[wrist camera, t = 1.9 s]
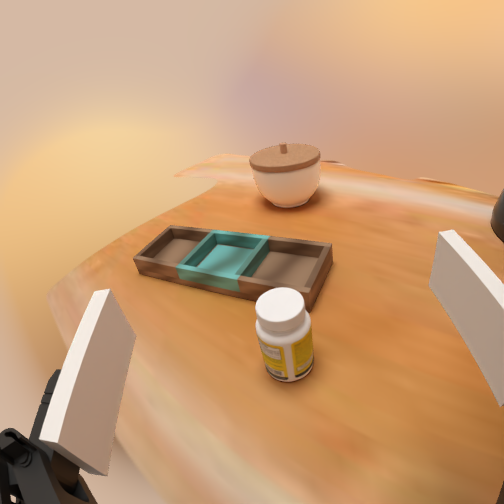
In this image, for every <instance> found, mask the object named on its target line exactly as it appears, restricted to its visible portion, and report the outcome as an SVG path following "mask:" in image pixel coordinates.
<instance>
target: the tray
mask: <svg viewBox="0 0 504 504" xmlns="http://www.w3.org/2000/svg"><path fill="white" fill-rule="evenodd" d="M133 260H134V262H135V264H136V267H137V269H138V271H139V273H140V274H143V275H147V276H151V277H154V278H158V279H162V280H166V281H170V282H174V283H179V284H183V285H187V286H191V287H195V288H199V289H204V290H208V291H212V292H216V293H221V294H225V295H230V296H234V297H238V298H243V299H247V300H252V301H257V300H258V298H259V297H260V296H261V295H262V294H264V293H265V292H267V291H269V290H271V289H275V288H282V287H284V288H291V289H294V290H296V291H298V292H299V293H300V294H301V295H302V297H303V299H304V303H305V310H306V311H307V312H310V311H311V309H312V307H313V305H314V303H315V301H316V298H317V296H318V294H319V292H320V290H321V287H322V285H323V283H324V281H325V278H326V276H327V274H328V272H329V269H330V267H331V265H332V262H333V257H332V243H324V242H316V241H308V240H299V239H291V238H282V237H274V236H265V235H256V234H248V233H239V232H230V231H221V230H211V229H202V228H193V227H183V226H173V225H170V226H169V227H168V228H167V229H165V230H164V231H163V232H162V233H161V234H160V235H158V236H157V237H156V238H155V239H154V240H153V241H152V242H150V243H149V244H148V245H147V246H146V247H145V248H144V249H142V250H141V251H140V252H139V253H138V254H137V255H136V256H135V257H134V258H133Z"/></svg>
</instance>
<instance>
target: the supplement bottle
mask: <svg viewBox="0 0 504 504" xmlns="http://www.w3.org/2000/svg"><path fill="white" fill-rule="evenodd" d="M255 309H256V315H257V321H256V333H257V337H258V340H259V344H260V348H261V351H262V355H263V359H264V362H265V366H266V369H267V371H268V373H269V374H270V375H271V376H272V377H273V378H275V379H277V380H279V381H284V382H291V381H295V380H298V379H301V378H303V377H304V376H306V375H307V374H308V373H309V372H310V370H311V368H312V366H313V361H314V357H313V343H312V329H311V320H310V316H309V314H308V312H307V311H306V310H305V303H304V299H303V297H302V295H301V294H300V293H299V292H298V291H296V290H294V289H291V288H284V287H282V288H275V289H271V290H269V291H267V292H265V293H264V294H262V295H261V296H260V297H259V298H258V300H257V302H256V307H255Z"/></svg>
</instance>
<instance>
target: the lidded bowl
mask: <svg viewBox="0 0 504 504" xmlns="http://www.w3.org/2000/svg"><path fill="white" fill-rule="evenodd" d="M249 161H250V166H251V168H252V173H253V177H254V180H255V183H256V185H257V188H258V190H259V191H260V193H261V194H262V195H263V196H264V197H265V198H266V199H267V200H269V201H271V202H272V204H273V205H275V206H277V207H282V208H292V207H297V206H301V205H303V204H305V203H306V202H308V200H309V198H310V197H311V196H312V195H313V193H314V192H315V191H316V189H317V187H318V184H319V180H320V151H319V150H318V148H316V147H314V146H311V145H306V144H286V143H280V144H279V145H278V146H273V147H269V148H265V149H263V150H260V151H258V152H256V153H254V154H253V155H252V156H251V157H250V159H249Z"/></svg>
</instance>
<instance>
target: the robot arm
mask: <svg viewBox="0 0 504 504" xmlns="http://www.w3.org/2000/svg"><path fill="white" fill-rule="evenodd" d="M491 225H492V228H493V230H494V232H495V233H496V234H497V235H498V237H499V238H500V239H501V240H502V241H504V189H503V191H502V193H501V195H500V197H499V199H498V201H497V202H496V204H495V206H494V209H493V213H492V218H491ZM429 287H430V288H431V290H432V291H433V293H434V294H435V296H436V297H437V299H438V300H439V302H440V303H441V305H442V306H443V308H444V309H445V311H446V312H447V314H448V316H449V317H450V319H451V320H452V322H453V323H454V325H455V327H456V328H457V330H458V332H459V333H460V335H461V337H462V338H463V340H464V342H465V343H466V345H467V347H468V348H469V350H470V352H471V353H472V355H473V357H474V359H475V361H476V362H477V364H478V366H479V368H480V369H481V371H482V373H483V375H484V377H485V379H486V381H487V383H488V384H489V386H490V388H491V390H492V392H493V394H494V396H495V398H496V400H497V402H498V404H499V406H500V407H501V406H503V405H504V284H503V283H502V282H501V281H500V280H499V279H498V277H497V276H496V275H495V274H494V273H493V272H492V270H491V269H490V268H489V267H488V266H487V265H486V264H485V263H484V261H483V260H482V259H481V258H480V257H479V256H478V255H477V254H476V253H475V252H474V251H473V250H472V249H471V247H470V246H469V245H468V244H467V243H466V242H465V241H464V240H463V239H462V238H461V237H460V236H459V235H458V234H457V233H456V232H455V231H454V230H449V231H443V232H439V233H438V239H437V245H436V251H435V256H434V262H433V267H432V272H431V276H430V281H429ZM135 339H136V334H135V333H134V331H133V329H132V328H131V326H130V324H129V322H128V321H127V319H126V317H125V315H124V313H123V312H122V310H121V308H120V306H119V304H118V303H117V301H116V299H115V297H114V295H113V293H112V291H111V289H106V290H99V291H95V292H94V294H93V296H92V298H91V300H90V302H89V305H88V307H87V309H86V311H85V314H84V316H83V318H82V320H81V323H80V325H79V327H78V330H77V332H76V334H75V337H74V339H73V342H72V344H71V347H70V349H69V352H68V354H67V357H66V360H65V362H64V365H63V368H62V370H56V371H55V372H54V374H53V375H52V377H51V378H50V379H49V381H48V384H47V386H46V389H45V392H44V393H45V395H43V397H42V400H41V405H40V406H39V409H38V412H37V415H36V418H35V422H34V425H33V428H32V431H31V434H30V437H29V440H28V439H27V438H25V437H24V436H23V435H22V434H20V433H19V432H18V431H17V430H15V429H13V428H8V429H5V430H4V431H2V432H1V433H0V504H97V502H96V500H95V498H94V497H93V495H92V493H91V491H90V490H89V488H88V486H87V484H86V482H85V481H84V479H83V477H82V476H81V475H80V474H79V470H80V468H81V469H83V470H84V471H86V472H88V473H90V474H95V475H102V476H108V469H109V462H110V457H111V451H112V445H113V440H114V434H115V429H116V423H117V418H118V413H119V408H120V403H121V399H122V394H123V389H124V385H125V380H126V376H127V372H128V368H129V363H130V359H131V355H132V351H133V347H134V343H135ZM10 494H11V495H13V496H15V497H16V503H14V502H12V501H11V496H10ZM496 504H504V482H503V485H502V488H501V491H500V494H499V497H498V500H497V503H496Z"/></svg>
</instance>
